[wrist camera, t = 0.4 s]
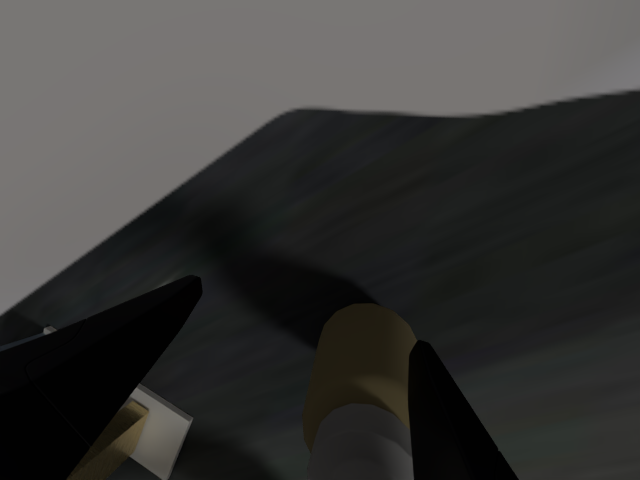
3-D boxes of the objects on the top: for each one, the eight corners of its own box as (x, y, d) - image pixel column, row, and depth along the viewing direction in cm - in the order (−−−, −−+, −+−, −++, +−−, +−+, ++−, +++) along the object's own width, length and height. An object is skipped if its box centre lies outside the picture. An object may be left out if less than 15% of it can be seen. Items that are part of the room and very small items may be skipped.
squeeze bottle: (321, 363, 24) (198, 712, 7) (330, 284, 24) (224, 442, 6) (405, 383, 23) (526, 898, 5) (417, 299, 22) (599, 561, 5)
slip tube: (149, 411, 28) (11, 526, 17) (134, 451, 28) (-7, 585, 18) (75, 362, 30) (-91, 438, 19) (62, 401, 30) (-105, 495, 20)
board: (193, 417, 28) (189, 422, 27) (169, 476, 29) (165, 481, 28) (50, 325, 31) (44, 327, 31) (34, 381, 32) (28, 384, 32)
